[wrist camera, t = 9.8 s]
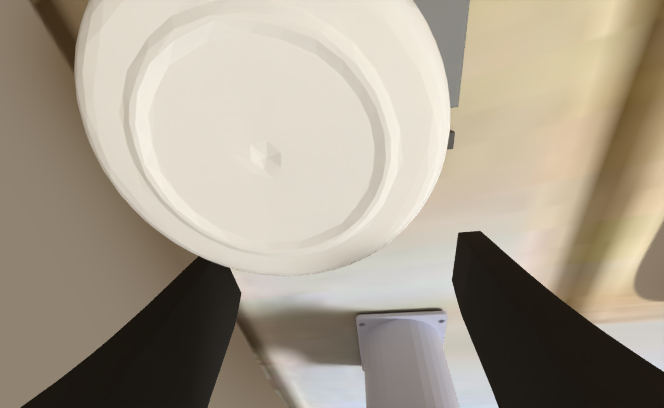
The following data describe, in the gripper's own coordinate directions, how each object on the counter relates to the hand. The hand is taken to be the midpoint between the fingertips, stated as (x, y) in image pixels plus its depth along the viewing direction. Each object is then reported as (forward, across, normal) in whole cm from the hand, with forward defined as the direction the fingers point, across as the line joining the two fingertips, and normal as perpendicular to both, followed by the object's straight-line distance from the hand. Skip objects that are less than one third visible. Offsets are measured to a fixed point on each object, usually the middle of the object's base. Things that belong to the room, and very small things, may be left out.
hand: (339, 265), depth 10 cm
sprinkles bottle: (+10, 0, -5) cm, 11 cm away
